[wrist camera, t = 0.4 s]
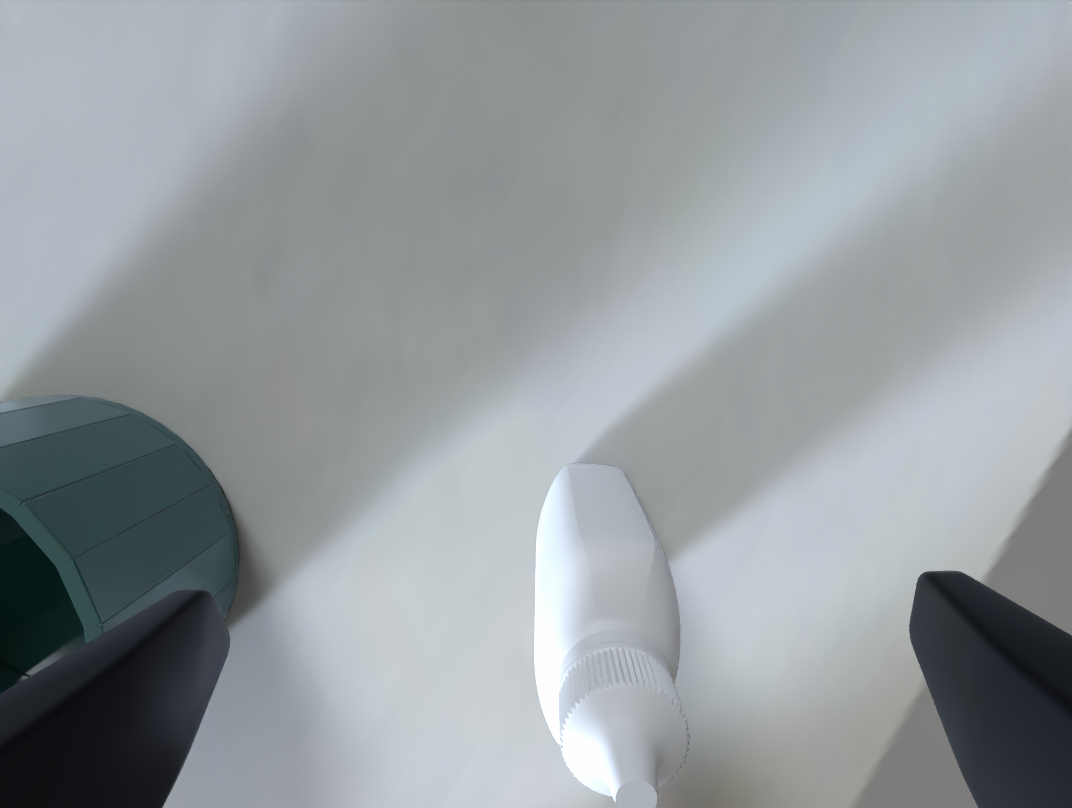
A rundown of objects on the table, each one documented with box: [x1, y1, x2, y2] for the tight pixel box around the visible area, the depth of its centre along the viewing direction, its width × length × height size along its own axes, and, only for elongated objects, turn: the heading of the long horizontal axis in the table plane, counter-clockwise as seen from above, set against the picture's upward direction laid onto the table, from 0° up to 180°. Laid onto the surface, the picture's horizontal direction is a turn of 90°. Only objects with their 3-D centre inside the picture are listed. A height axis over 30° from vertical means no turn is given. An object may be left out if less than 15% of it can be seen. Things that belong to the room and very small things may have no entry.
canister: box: [0, 395, 239, 694], centre depth 19 cm, size 11×11×7 cm
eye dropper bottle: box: [535, 463, 690, 808], centre depth 16 cm, size 4×6×12 cm
